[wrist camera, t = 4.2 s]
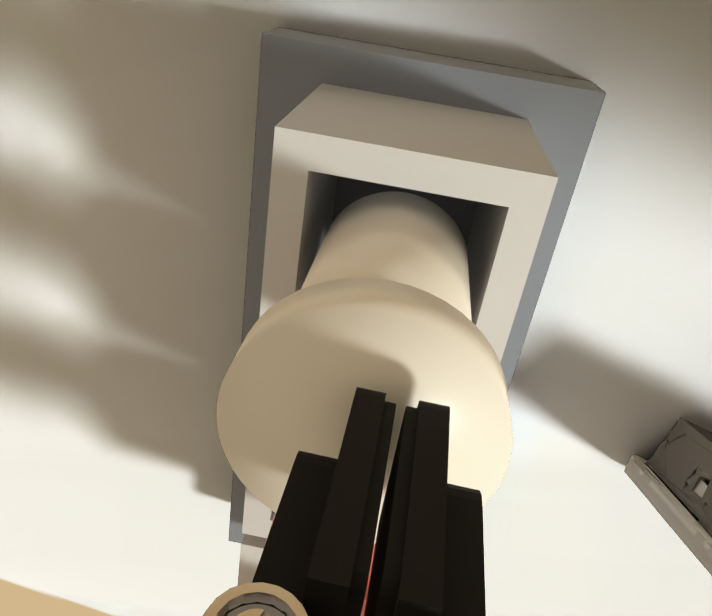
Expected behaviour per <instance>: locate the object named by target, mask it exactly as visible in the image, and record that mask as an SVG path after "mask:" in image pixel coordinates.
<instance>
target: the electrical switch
mask: <svg viewBox="0 0 712 616" xmlns="http://www.w3.org/2000/svg"><path fill="white" fill-rule="evenodd" d="M624 472H625V473H626V474H627V475H628V476H629V478H630V479H631V480H632V481H633V482H634V484H635V485H636V486H637V487H638V488H639V489H640V491H641V492H642V493H643V494H644V495H645V497H646V498H647V499H648V500H649V501H650V503H651V504H652V505H653V506H654V507H655V509H656V510H657V511H658V512H659V514H660V515H661V516H662V517H663V518H664V520H665V521H666V522H667V523H668V524H669V526H670V527H671V528H672V529H673V530H674V532H675V533H676V534H677V535H678V536H679V538H680V539H681V540H682V541H683V542H684V544H685V545H686V546H687V547H688V548H689V549H690V551H691V552H692V553H693V554H694V555H695V556H696V558H697V559H698V560H699V561H700V562H701V563H702V565H703V566H704V567H705V568H706V569H707V570H708V572H709V573H710V574H711V575H712V433H711V432H709V431H707V430H705V429H703V428H701V427H699V426H697V425H695V424H692V423H690V422H688V421H686V420H684V419H682V418H681V417H680V419H679V421H678V422H677V424H676V425H675V427H674V428H673V430H672V431H671V433H670V434H669V436H668V437H667V438H666V439H665V440H664V441H663V442H662V443H661V444H660V445H659V446H658V448H657V450H656V451H655V453H654V455H653V456H652V457H651V458H650V459H649V460H646V459H644V458H642V457H639V456H637V455H633V456H631V458H630V460H629V462H628V464H627V466H626V468H625V471H624Z"/></svg>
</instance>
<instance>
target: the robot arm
mask: <svg viewBox="0 0 712 616" xmlns="http://www.w3.org/2000/svg"><path fill="white" fill-rule="evenodd" d="M385 398H386V393H383V392H379V391H374V390H369V389H365V388H360V387H357V388H356V391H355V395H354V399H353V403H352V407H351V410H350V414H349V418H348V422H347V426H346V429H345V433H344V437H343V441H342V445H341V449H340V452H339V456H338V459H335V458H330V457H326V456H321V455H317V454H312V453H308V452H303V451H299V452H298V453H297V455H296V458H295V461H294V463H293V466H292V469H291V472H290V475H289V478H288V481H287V483H286V486H285V489H284V492H283V495H282V498H281V501H280V504H279V506H278V509H277V512H276V515H275V518H274V521H273V524H272V526H271V529H270V532H269V535H268V538H267V541H266V544H265V546H264V549H263V552H262V555H261V558H260V561H259V564H258V566H257V569H256V572H255V575H254V578H253V581H252V583H245V584H242V585H239V586H236V587H233V588H230V589H229V590H227V591H226V592H224V593H223V594H221V595H220V596H218V597H217V598H216V599H215V600H214V601H213V603H212V604H211V605H210V606H209V608H208V609H207V610H206V611H205V613H204V615H203V616H360V615H361V611H362V607H363V603H364V598H365V593H366V588H367V583H368V578H369V572H370V566H371V560H372V553H373V547H374V541H375V535H376V529H377V522H378V516H379V510H380V504H381V498H382V491H383V485H384V479H385V473H386V466H387V460H388V454H389V448H390V442H391V435H392V429H393V423H394V417H395V411H396V403H391V402H386V401H385ZM449 427H450V407H449V406H444V405H440V404H435V403H430V402H426V401H421V400H420V401H419V403H418V406H417V408H415V407H410V406H406V408H405V412H404V416H403V420H402V425H401V429H400V433H399V437H398V442H397V446H396V450H395V455H394V459H393V463H392V467H391V472H390V476H389V480H388V485H387V489H386V493H385V497H384V502H383V506H382V510H381V515H380V520H379V525H378V531H377V537H376V543H375V550H374V556H373V562H372V568H371V575H370V581H369V587H368V594H367V600H366V606H365V613H364V616H485V581H484V546H483V511H482V494H481V492H480V490H475V489H471V488H466V487H462V486H457V485H453V484H448V483H447V480H448V453H449Z"/></svg>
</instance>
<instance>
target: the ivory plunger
mask: <svg viewBox="0 0 712 616" xmlns="http://www.w3.org/2000/svg"><path fill="white" fill-rule="evenodd" d="M357 387H360V388H365V389H369V390H374V391H379V392H383V393H386V398H385V401H386V402H391V403H396V411H395V417H394V423H393V429H392V435H391V442H390V448H389V454H388V460H387V466H386V473H385V479H384V485H383V491H382V498H381V504H380V510H379V516H378V522H377V529H376V535H375V541H374V544H375V543H376V537H377V531H378V525H379V520H380V515H381V510H382V506H383V502H384V497H385V493H386V489H387V485H388V480H389V476H390V472H391V467H392V463H393V459H394V455H395V450H396V446H397V442H398V437H399V433H400V429H401V425H402V420H403V416H404V412H405V408H406V406H410V407H415V408H417V406H418V403H419V401H420V400H421V401H426V402H430V403H435V404H440V405H444V406H449V407H450V427H449V453H448V480H447V483H448V484H453V485H457V486H462V487H466V488H471V489H475V490H480V492H481V494H482V507H483V506H484V505H485V504H486V503H487V502H488V501H489V499H490V498H491V497H492V496H493V495H494V493H495V492H496V490H497V489H498V487H499V486H500V484H501V483H502V480H503V478H504V476H505V474H506V472H507V469H508V466H509V462H510V458H511V454H512V444H513V433H512V422H511V415H510V407H509V400H508V393H507V386H506V381H505V377H504V373H503V369H502V366H501V364H500V362H499V359H498V357H497V355H496V353H495V351H494V349H493V348H492V346H491V344H490V343H489V341H488V340H487V338H486V337H485V336H484V335H483V333H482V332H481V331H480V330H479V329H478V327H477V326H476V325H475V324H474V323H473V322H472V318H471V303H470V287H469V271H468V257H467V248H466V244H465V241H464V238H463V236H462V233H461V231H460V229H459V228H458V226H457V224H456V223H455V222H454V220H453V219H452V218H451V217H450V215H448V214H447V213H446V212H445V211H444V210H443V209H442V208H441V207H439V206H438V205H436V204H435V203H433V202H431V201H430V200H428V199H426V198H423V197H421V196H418V195H415V194H411V193H406V192H398V191H392V192H380V193H375V194H371V195H368V196H365V197H363V198H361V199H358V200H357V201H355V202H353V203H351V204H350V205H349V206H347V207H346V208H345V209H344V210H343V211H342V212H341V213H340V214H339V215H338V216H337V217H336V218H335V220H334V221H333V222H332V224H331V226H330V228H329V229H328V231H327V233H326V236H325V238H324V240H323V242H322V244H321V246H320V249H319V251H318V253H317V255H316V257H315V259H314V262H313V264H312V266H311V268H310V270H309V272H308V275H307V277H306V279H305V281H304V283H303V285H302V288H301V290H298V291H296V292H294V293H292V294H290V295H288V296H287V297H285V298H283V299H281V300H280V301H279V302H277V303H276V304H275V305H273V306H272V307H271V308H269V309H268V310H267V311H266V312H265V313H264V314H263V315H262V316H261V317H260V318H259V319H258V320H257V321H256V323H255V324H254V326H253V327H252V328H251V330H250V331H249V332H248V334H247V336H246V338H245V340H244V341H243V343H242V345H241V347H240V349H239V350H238V352H237V354H236V356H235V358H234V360H233V361H232V363H231V365H230V367H229V369H228V371H227V373H226V375H225V377H224V379H223V381H222V384H221V387H220V391H219V394H218V400H217V408H216V419H217V429H218V434H219V439H220V443H221V445H222V448H223V451H224V454H225V456H226V458H227V460H228V462H229V464H230V466H231V468H232V469H233V471H234V472H235V474H236V475H237V476H238V478H239V479H240V481H241V482H242V483H243V484H244V485H245V486H246V488H247V489H248V490H249V491H250V492H251V493H252V494H253V495H254V496H255V497H256V498H257V499H258V500H259V501H261V502H262V503H263V504H264V505H265V506H267V507H268V508H269V509H271V510H272V511H274V512H275V513H276V512H277V509H278V506H279V504H280V501H281V498H282V495H283V492H284V489H285V486H286V483H287V481H288V478H289V475H290V472H291V469H292V466H293V463H294V461H295V458H296V455H297V453H298V452H299V451H303V452H308V453H312V454H317V455H321V456H326V457H330V458H335V459H338V456H339V452H340V449H341V445H342V441H343V437H344V433H345V429H346V426H347V422H348V418H349V414H350V410H351V407H352V403H353V399H354V395H355V391H356V388H357Z"/></svg>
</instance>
